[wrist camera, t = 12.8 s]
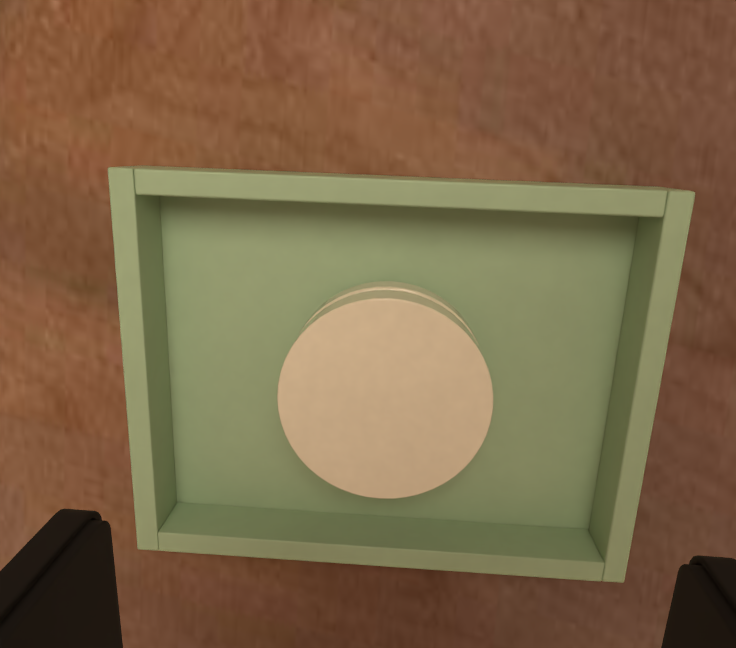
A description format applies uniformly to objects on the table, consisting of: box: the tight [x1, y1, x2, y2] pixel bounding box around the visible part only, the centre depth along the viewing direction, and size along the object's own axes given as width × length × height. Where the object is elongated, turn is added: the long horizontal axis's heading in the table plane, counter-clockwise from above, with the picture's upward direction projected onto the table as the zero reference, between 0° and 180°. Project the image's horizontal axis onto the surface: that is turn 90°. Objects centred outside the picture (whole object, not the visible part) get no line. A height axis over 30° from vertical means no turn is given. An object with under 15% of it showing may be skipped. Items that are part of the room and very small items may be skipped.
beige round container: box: [277, 281, 493, 499], centre depth 20 cm, size 7×7×3 cm
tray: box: [108, 166, 695, 583], centre depth 21 cm, size 18×14×3 cm
